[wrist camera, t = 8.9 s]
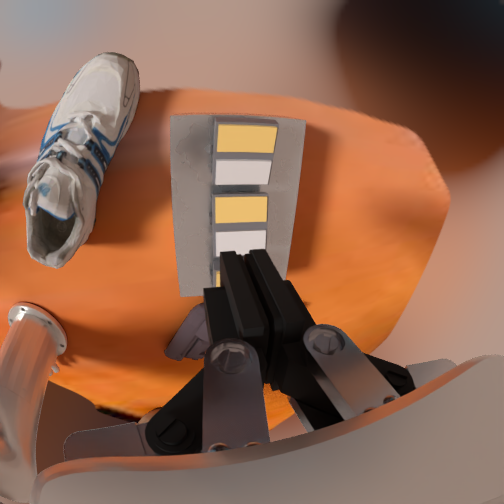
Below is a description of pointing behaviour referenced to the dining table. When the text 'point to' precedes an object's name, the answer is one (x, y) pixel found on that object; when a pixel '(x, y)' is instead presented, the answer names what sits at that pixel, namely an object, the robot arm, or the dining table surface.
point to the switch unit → (201, 188)
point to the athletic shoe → (78, 157)
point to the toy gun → (190, 337)
